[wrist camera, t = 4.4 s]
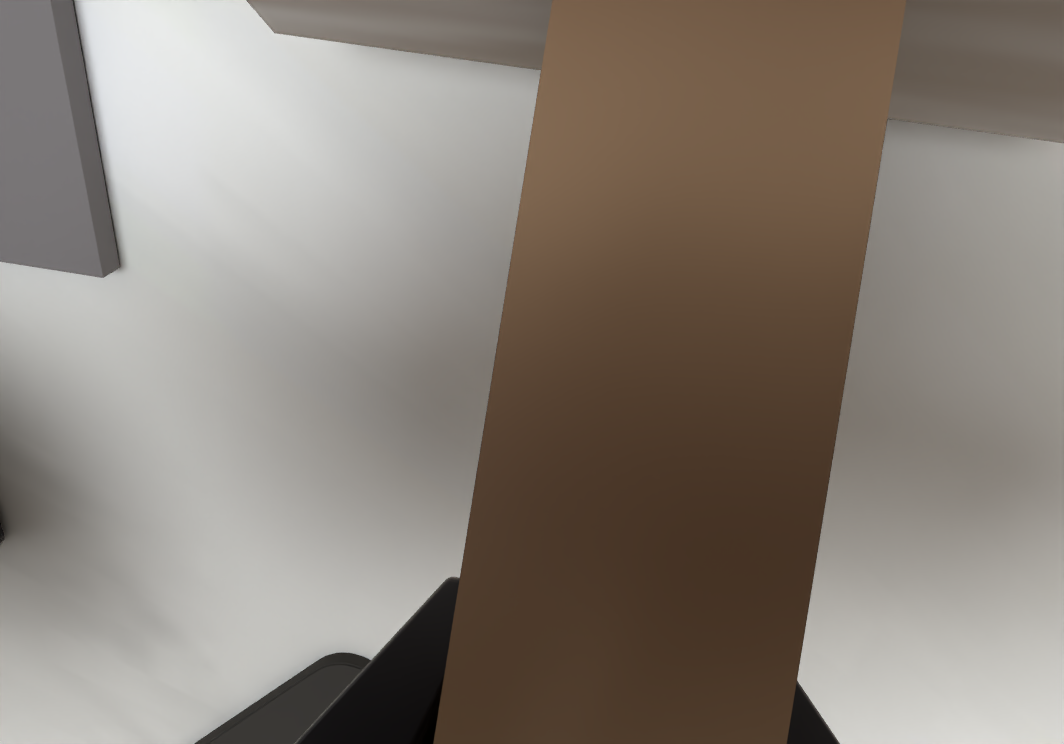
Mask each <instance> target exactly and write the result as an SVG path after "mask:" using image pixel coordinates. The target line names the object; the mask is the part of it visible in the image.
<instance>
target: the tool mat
mask: <svg viewBox="0 0 1064 744" xmlns="http://www.w3.org/2000/svg"><path fill="white" fill-rule="evenodd" d="M0 262H6V263H13V264H19V265H25V266H32V267H38V268H44V269H51V270H57V271H63V272H70V273H76V274H82V275H89V276H95V277H101V278H104V277H105V276H107V275H108V274H110V273H112V272H113V271H115V270H116V269H118V268H119V267H120V265H119V259H118V254H117V248H116V243H115V237H114V231H113V226H112V220H111V214H110V209H109V203H108V197H107V192H106V186H105V180H104V175H103V169H102V164H101V158H100V152H99V147H98V141H97V135H96V130H95V124H94V118H93V113H92V107H91V101H90V96H89V90H88V85H87V79H86V73H85V68H84V62H83V56H82V51H81V45H80V39H79V34H78V28H77V23H76V17H75V11H74V6H73V0H0Z"/></svg>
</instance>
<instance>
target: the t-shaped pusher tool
mask: <svg viewBox="0 0 1064 744" xmlns="http://www.w3.org/2000/svg"><path fill="white" fill-rule="evenodd" d="M247 2H248V3H249V4H250V5H251V6H252V7H253V9H254V10H255V11H256V12H257V13H258V14H259V16H260V17H261V18H262V19H263V20H264V21H265V22H266V24H267V25H268V26H269V27H270V28H271V29H272V31H273V32H274V33H278V34H285V35H292V36H299V37H307V38H314V39H321V40H328V41H335V42H342V43H350V44H357V45H364V46H371V47H378V48H385V49H392V50H400V51H407V52H414V53H421V54H428V55H435V56H443V57H450V58H457V59H464V60H471V61H478V62H486V63H493V64H500V65H507V66H514V67H521V68H529V69H536V70H541V75H540V81H539V87H538V93H537V100H536V106H535V112H534V118H533V125H532V131H531V137H530V143H529V150H528V156H527V162H526V168H525V175H524V181H523V187H522V193H521V200H520V206H519V212H518V218H517V225H516V231H515V237H514V243H513V250H512V256H511V262H510V268H509V275H508V281H507V287H506V293H505V299H504V306H503V312H502V318H501V324H500V331H499V337H498V343H497V349H496V356H495V362H494V368H493V374H492V381H491V387H490V393H489V399H488V406H487V412H486V418H485V424H484V431H483V437H482V443H481V449H480V456H479V462H478V468H477V474H476V480H475V487H474V493H473V499H472V505H471V512H470V518H469V524H468V530H467V537H466V543H465V549H464V555H463V562H462V568H461V574H460V580H459V587H458V593H457V599H456V605H455V612H454V618H453V624H452V630H451V637H450V643H449V649H448V655H447V662H446V668H445V674H444V680H443V686H442V693H441V699H440V705H439V711H438V718H437V724H436V730H435V736H434V743H433V744H787V738H788V732H789V726H790V719H791V713H792V707H793V701H794V695H795V688H796V682H797V676H798V670H799V664H800V657H801V651H802V645H803V639H804V633H805V626H806V620H807V614H808V608H809V602H810V595H811V589H812V583H813V577H814V570H815V564H816V558H817V552H818V546H819V539H820V533H821V527H822V521H823V515H824V508H825V502H826V496H827V490H828V484H829V477H830V471H831V465H832V459H833V453H834V446H835V440H836V434H837V428H838V422H839V415H840V409H841V403H842V397H843V390H844V384H845V378H846V372H847V366H848V359H849V353H850V347H851V341H852V335H853V328H854V322H855V316H856V310H857V304H858V297H859V291H860V285H861V279H862V273H863V266H864V260H865V254H866V248H867V242H868V235H869V229H870V223H871V217H872V210H873V204H874V198H875V192H876V186H877V179H878V173H879V167H880V161H881V155H882V148H883V142H884V136H885V130H886V124H887V119H894V120H901V121H908V122H915V123H923V124H930V125H937V126H944V127H951V128H958V129H966V130H973V131H980V132H987V133H994V134H1001V135H1009V136H1016V137H1023V138H1030V139H1037V140H1044V141H1052V142H1059V143H1064V0H247Z"/></svg>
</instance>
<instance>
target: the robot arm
mask: <svg viewBox="0 0 1064 744" xmlns="http://www.w3.org/2000/svg"><path fill="white" fill-rule="evenodd" d="M3 541H4V533H3V530H2V527H1V524H0V545H1V544H2V543H3ZM459 580H460V578H457V577H450V578H448V579H446V580H445V581H444V582H443V583H442V584H441V586H440V587H439V588H438V589H437V590H436V591H435V592H434V593H433V594H432V595H431V596H430V597H429V598H428V600H427V601H426V602H425V603H424V604H423V605H422V606H421V607H420V608H419V609H418V610H417V611H416V613H415V614H414V615H413V616H412V617H411V618H410V619H409V620H408V621H407V622H406V623H405V624H404V626H403V627H402V628H401V629H400V630H399V631H398V632H397V633H396V634H395V635H394V636H393V637H392V639H391V640H390V641H389V642H388V643H387V644H386V645H385V646H384V647H383V648H382V649H381V650H380V652H379V653H378V654H377V655H376V656H375V657H374V658H373V659H372V660H371V661H370V662H369V663H368V664H367V666H366V667H365V668H364V669H363V670H362V671H361V672H360V673H359V674H358V675H357V676H356V677H355V679H354V680H353V681H352V682H351V683H350V684H349V685H348V686H347V687H346V688H345V689H344V690H343V692H342V693H341V694H340V695H339V696H338V697H337V698H336V699H335V700H334V701H333V702H332V703H331V705H330V706H329V707H328V708H327V709H326V710H325V711H324V712H323V713H322V714H321V715H320V716H319V718H318V719H317V720H316V721H315V722H314V723H313V724H312V725H311V726H310V727H309V728H308V729H307V730H306V732H305V733H304V734H303V735H302V736H301V737H300V738H299V739H298V740H297V741H296V742H295V743H294V744H433V743H434V736H435V730H436V724H437V718H438V711H439V705H440V699H441V693H442V686H443V680H444V674H445V668H446V662H447V655H448V649H449V643H450V637H451V630H452V624H453V618H454V612H455V605H456V599H457V593H458V587H459ZM787 744H840V743H839V742H838V740H837V739H836V737H835V736H834V734H833V733H832V731H831V730H830V728H829V727H828V725H827V724H826V722H825V721H824V719H823V718H822V717H821V715H820V714H819V712H818V711H817V709H816V708H815V706H814V705H813V703H812V702H811V700H810V699H809V697H808V696H807V694H806V693H805V692H804V690H803V689H802V687H801V686H800V684H799V683H798V681H797V682H796V688H795V695H794V701H793V707H792V713H791V719H790V726H789V732H788V738H787Z"/></svg>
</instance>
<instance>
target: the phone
mask: <svg viewBox="0 0 1064 744" xmlns="http://www.w3.org/2000/svg"><path fill="white" fill-rule="evenodd" d="M370 661H371V660H369V659H367V658H365V657H362V656H359V655H356V654H351V653H335V654H331V655H328V656H325V657H323V658H321V659H320V660H318V661H316V662H315V663H313V664H312V665H310V666H309V667H307V668H306V669H304V670H303V671H301V672H300V673H298V674H297V675H295V676H294V677H293V678H291V679H290V680H288V681H287V682H285V683H284V684H282V685H281V686H279V687H278V688H276V689H275V690H273V691H272V692H270V693H269V694H267V695H266V696H264V697H263V698H261V699H260V700H258V701H257V702H255V703H254V704H252V705H251V706H250V707H248V708H247V709H245V710H244V711H242V712H241V713H239V714H238V715H236V716H235V717H233V718H232V719H230V720H229V721H227V722H226V723H224V724H223V725H221V726H220V727H218V728H217V729H215V730H214V731H212V732H211V733H209V734H208V735H207V736H205V737H204V738H202V739H201V740H199V741H198V742H196V743H195V744H294V743H295V742H296V741H297V740H298V739H299V738H300V737H301V736H302V735H303V734H304V733H305V732H306V730H307V729H308V728H309V727H310V726H311V725H312V724H313V723H314V722H315V721H316V720H317V719H318V718H319V716H320V715H321V714H322V713H323V712H324V711H325V710H326V709H327V708H328V707H329V706H330V705H331V703H332V702H333V701H334V700H335V699H336V698H337V697H338V696H339V695H340V694H341V693H342V692H343V690H344V689H345V688H346V687H347V686H348V685H349V684H350V683H351V682H352V681H353V680H354V679H355V677H356V676H357V675H358V674H359V673H360V672H361V671H362V670H363V669H364V668H365V667H366V666H367V664H368V663H369V662H370Z"/></svg>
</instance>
